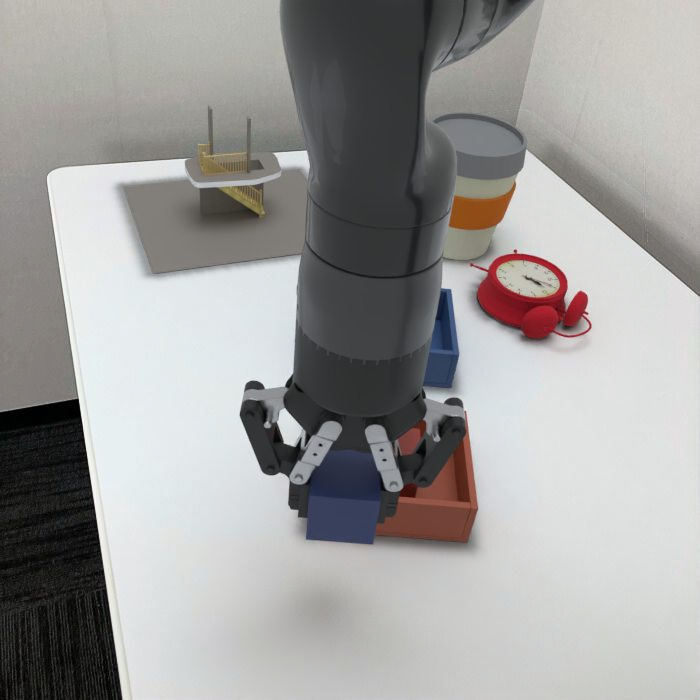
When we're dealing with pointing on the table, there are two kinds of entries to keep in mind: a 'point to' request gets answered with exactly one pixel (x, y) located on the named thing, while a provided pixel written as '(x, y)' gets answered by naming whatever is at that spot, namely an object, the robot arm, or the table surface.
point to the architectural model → (221, 210)
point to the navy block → (344, 498)
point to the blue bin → (443, 345)
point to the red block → (407, 447)
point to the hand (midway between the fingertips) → (341, 510)
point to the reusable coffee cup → (480, 178)
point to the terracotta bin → (439, 501)
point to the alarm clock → (530, 295)
